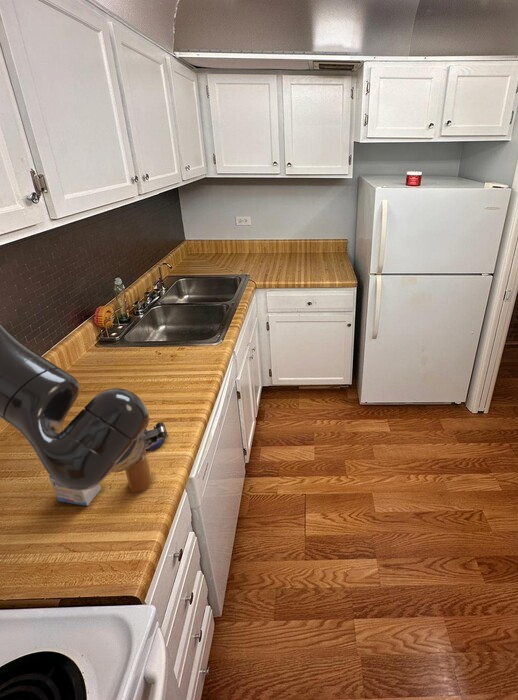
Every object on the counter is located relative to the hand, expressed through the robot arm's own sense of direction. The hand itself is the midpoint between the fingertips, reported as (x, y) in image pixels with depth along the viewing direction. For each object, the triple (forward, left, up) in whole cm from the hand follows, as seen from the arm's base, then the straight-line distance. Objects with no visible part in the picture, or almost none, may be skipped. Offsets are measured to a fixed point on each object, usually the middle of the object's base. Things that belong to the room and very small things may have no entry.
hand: (128, 450), depth 65 cm
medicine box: (-13, +17, -23) cm, 32 cm away
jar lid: (+4, +24, -22) cm, 33 cm away
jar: (-1, +12, -23) cm, 26 cm away
